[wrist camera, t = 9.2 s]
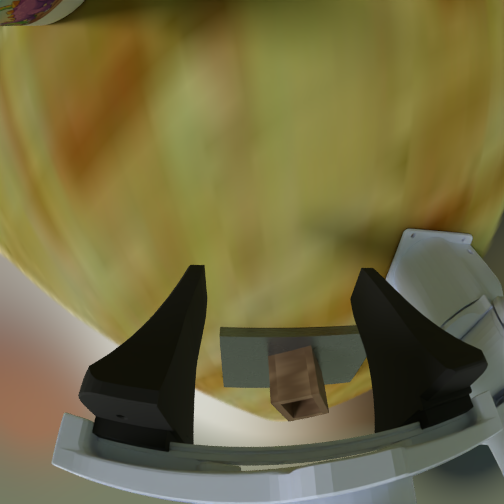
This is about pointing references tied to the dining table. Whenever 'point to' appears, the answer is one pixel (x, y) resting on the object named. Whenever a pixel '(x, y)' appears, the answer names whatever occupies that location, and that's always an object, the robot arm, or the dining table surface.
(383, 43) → the dining table surface
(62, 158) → the dining table surface
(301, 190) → the dining table surface
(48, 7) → the milk bottle
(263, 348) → the plate
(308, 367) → the hollow wooden block
